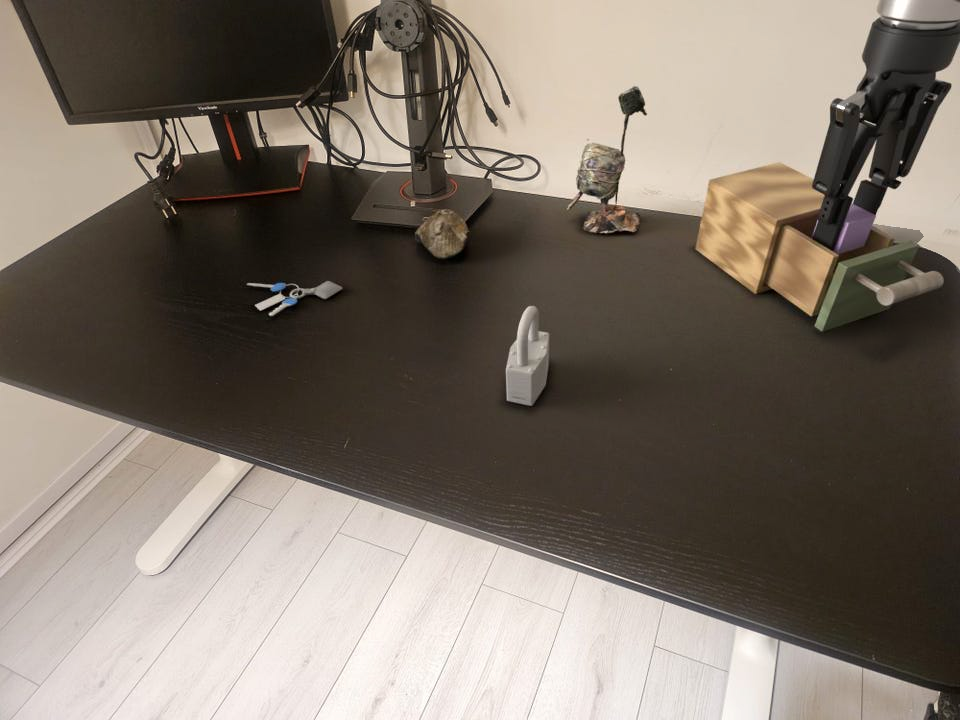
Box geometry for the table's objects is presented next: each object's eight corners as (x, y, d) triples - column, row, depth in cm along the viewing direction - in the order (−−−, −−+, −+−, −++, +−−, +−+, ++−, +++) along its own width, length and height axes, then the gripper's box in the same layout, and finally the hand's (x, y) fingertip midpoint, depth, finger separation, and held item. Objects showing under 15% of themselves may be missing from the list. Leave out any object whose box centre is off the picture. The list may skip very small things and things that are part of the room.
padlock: (520, 360, 72) (518, 289, 65) (553, 366, 71) (555, 295, 64) (501, 401, 67) (498, 329, 60) (537, 408, 66) (538, 336, 59)
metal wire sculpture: (579, 206, 100) (586, 76, 87) (647, 218, 96) (666, 84, 82) (560, 228, 95) (564, 95, 82) (632, 243, 90) (648, 104, 77)
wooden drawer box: (826, 272, 82) (853, 199, 75) (755, 294, 79) (777, 220, 72) (760, 230, 91) (779, 161, 84) (695, 249, 88) (709, 179, 81)
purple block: (837, 231, 74) (848, 201, 72) (864, 246, 71) (876, 215, 69) (810, 239, 73) (821, 208, 71) (837, 254, 70) (848, 223, 68)
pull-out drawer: (926, 332, 70) (962, 266, 65) (856, 357, 68) (886, 291, 62) (817, 263, 82) (838, 202, 76) (754, 282, 80) (771, 221, 74)
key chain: (345, 283, 86) (344, 278, 86) (333, 318, 80) (332, 313, 80) (249, 285, 87) (247, 280, 87) (229, 320, 81) (227, 315, 80)
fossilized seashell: (482, 243, 88) (465, 222, 96) (454, 209, 84) (439, 190, 93) (443, 277, 89) (429, 253, 97) (413, 244, 85) (402, 223, 94)
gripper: (883, 42, 52) (804, 274, 67) (1026, 13, 56) (920, 238, 71) (816, 24, 57) (757, 243, 73) (950, -1, 61) (867, 211, 77)
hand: (838, 240), depth 72 cm, fingers closed on purple block, 4 cm apart
